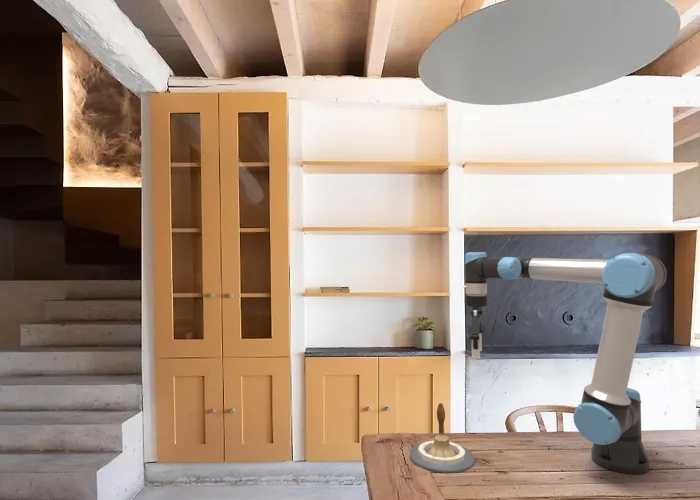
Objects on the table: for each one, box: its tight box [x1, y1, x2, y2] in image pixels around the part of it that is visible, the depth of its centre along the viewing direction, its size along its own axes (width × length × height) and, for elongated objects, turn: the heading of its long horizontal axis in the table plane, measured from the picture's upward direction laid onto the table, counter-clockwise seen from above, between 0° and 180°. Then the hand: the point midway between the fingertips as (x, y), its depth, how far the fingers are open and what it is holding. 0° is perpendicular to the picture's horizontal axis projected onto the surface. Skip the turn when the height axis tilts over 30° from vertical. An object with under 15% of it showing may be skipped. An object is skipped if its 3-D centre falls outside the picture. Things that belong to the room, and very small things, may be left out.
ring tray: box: [409, 440, 475, 474], centre depth 137 cm, size 20×20×2 cm
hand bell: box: [428, 402, 455, 458], centre depth 137 cm, size 8×8×16 cm
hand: (477, 354), depth 155 cm, fingers open, 13 cm apart
